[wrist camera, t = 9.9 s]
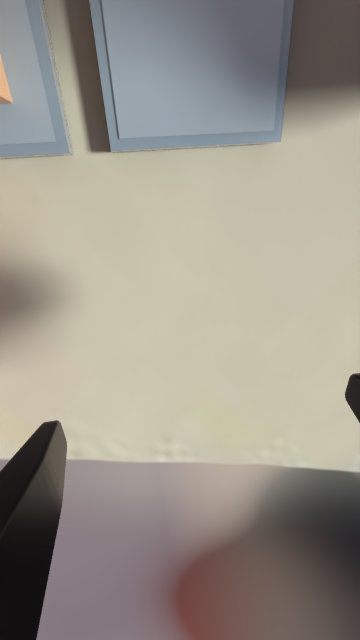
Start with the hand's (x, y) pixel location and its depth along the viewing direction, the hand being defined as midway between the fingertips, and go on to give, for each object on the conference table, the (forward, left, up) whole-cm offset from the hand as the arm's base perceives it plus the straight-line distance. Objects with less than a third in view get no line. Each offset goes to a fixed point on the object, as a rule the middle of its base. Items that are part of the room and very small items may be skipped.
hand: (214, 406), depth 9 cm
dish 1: (-2, -12, -12) cm, 17 cm away
